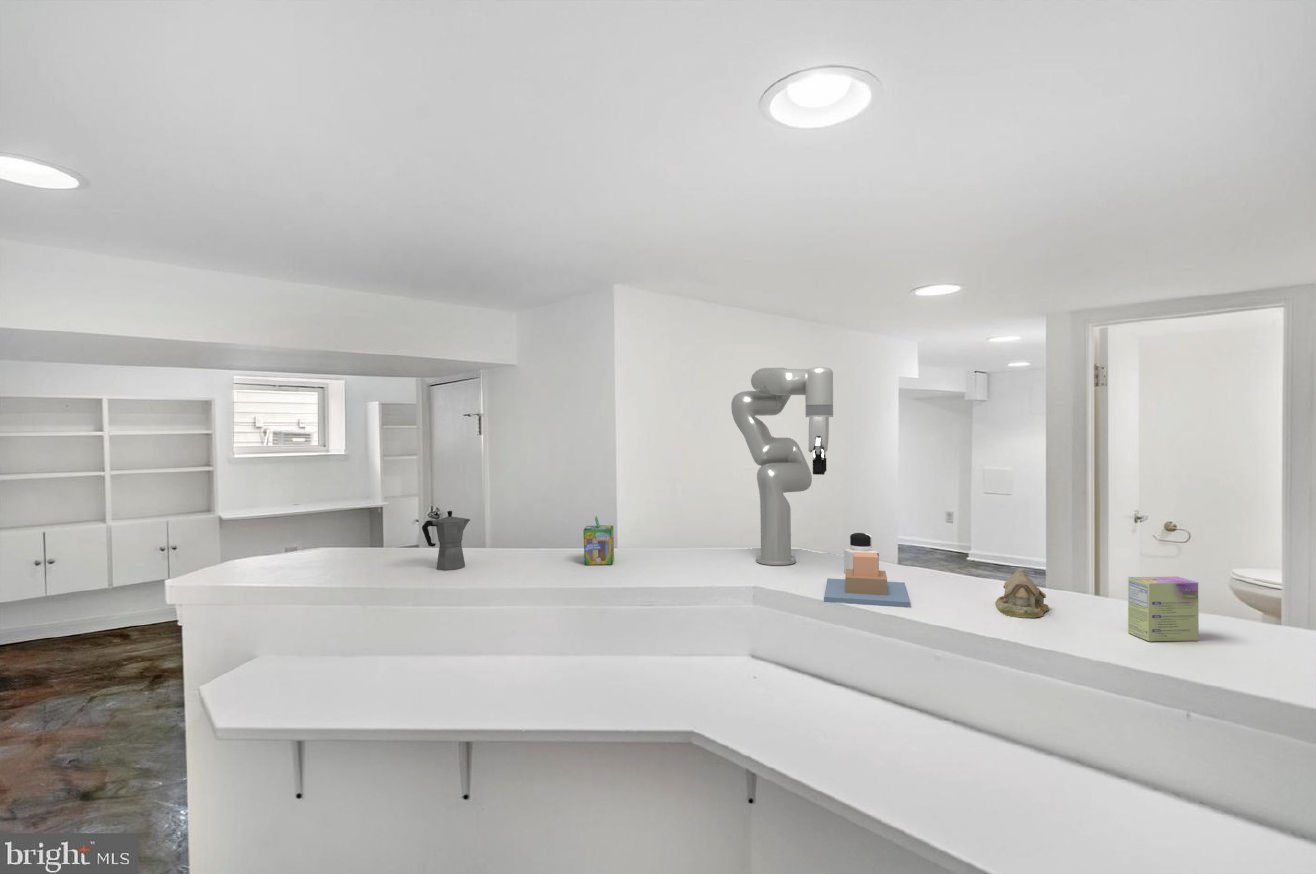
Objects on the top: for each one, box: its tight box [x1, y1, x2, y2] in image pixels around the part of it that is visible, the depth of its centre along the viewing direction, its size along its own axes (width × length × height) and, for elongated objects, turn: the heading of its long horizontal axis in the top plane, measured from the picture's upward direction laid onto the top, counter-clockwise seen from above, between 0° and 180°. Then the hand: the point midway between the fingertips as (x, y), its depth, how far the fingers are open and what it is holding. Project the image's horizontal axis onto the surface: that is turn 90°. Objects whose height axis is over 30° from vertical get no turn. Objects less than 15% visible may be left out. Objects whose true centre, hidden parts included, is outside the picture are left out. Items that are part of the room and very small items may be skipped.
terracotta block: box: [853, 552, 880, 577], centre depth 167 cm, size 6×6×5 cm
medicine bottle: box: [843, 532, 880, 574], centre depth 189 cm, size 7×7×12 cm
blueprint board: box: [823, 569, 911, 608], centre depth 167 cm, size 20×20×5 cm
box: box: [1127, 576, 1200, 642], centre depth 132 cm, size 10×6×12 cm, turn 92°
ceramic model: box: [994, 567, 1050, 619], centre depth 152 cm, size 14×11×10 cm
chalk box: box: [582, 515, 615, 566], centre depth 210 cm, size 9×9×15 cm
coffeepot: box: [421, 510, 471, 571], centre depth 205 cm, size 15×9×18 cm, turn 129°
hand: (819, 473), depth 182 cm, fingers open, 9 cm apart
